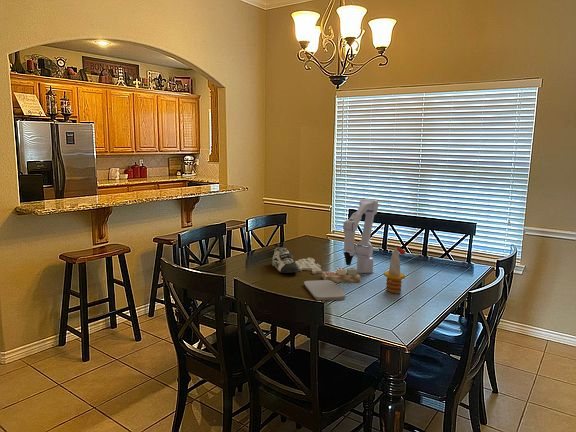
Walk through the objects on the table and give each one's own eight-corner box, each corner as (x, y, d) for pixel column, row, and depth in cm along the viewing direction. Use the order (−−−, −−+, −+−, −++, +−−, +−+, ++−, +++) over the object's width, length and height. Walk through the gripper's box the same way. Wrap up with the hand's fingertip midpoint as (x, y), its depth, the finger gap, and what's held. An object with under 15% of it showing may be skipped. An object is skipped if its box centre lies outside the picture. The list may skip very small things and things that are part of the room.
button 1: (354, 272, 253) (354, 267, 252) (356, 275, 248) (356, 269, 248) (346, 272, 252) (346, 267, 252) (348, 275, 248) (348, 269, 247)
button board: (355, 276, 256) (355, 271, 256) (360, 281, 246) (360, 276, 246) (321, 276, 254) (322, 271, 253) (325, 281, 244) (325, 276, 244)
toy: (411, 264, 215) (391, 245, 224) (390, 299, 227) (372, 279, 237) (422, 262, 220) (403, 243, 229) (401, 296, 233) (383, 277, 242)
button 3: (333, 277, 252) (333, 271, 251) (335, 279, 247) (335, 273, 247) (326, 277, 251) (326, 271, 251) (327, 279, 247) (327, 273, 246)
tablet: (330, 283, 242) (331, 279, 242) (347, 300, 217) (347, 296, 217) (302, 285, 239) (302, 281, 238) (316, 302, 214) (316, 297, 213)
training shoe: (285, 277, 250) (285, 255, 248) (266, 264, 276) (266, 244, 274) (302, 275, 255) (302, 254, 253) (281, 262, 281) (282, 243, 279)
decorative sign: (290, 258, 286) (312, 257, 289) (290, 261, 286) (312, 260, 290) (301, 271, 256) (326, 271, 260) (301, 275, 257) (325, 274, 260)
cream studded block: (343, 272, 252) (344, 267, 251) (345, 275, 248) (346, 269, 247) (336, 272, 251) (336, 267, 251) (338, 275, 247) (338, 269, 247)
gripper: (339, 238, 254) (338, 261, 256) (345, 244, 239) (344, 268, 242) (351, 238, 254) (350, 261, 257) (358, 244, 240) (356, 268, 243)
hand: (348, 264), depth 249 cm, fingers closed
